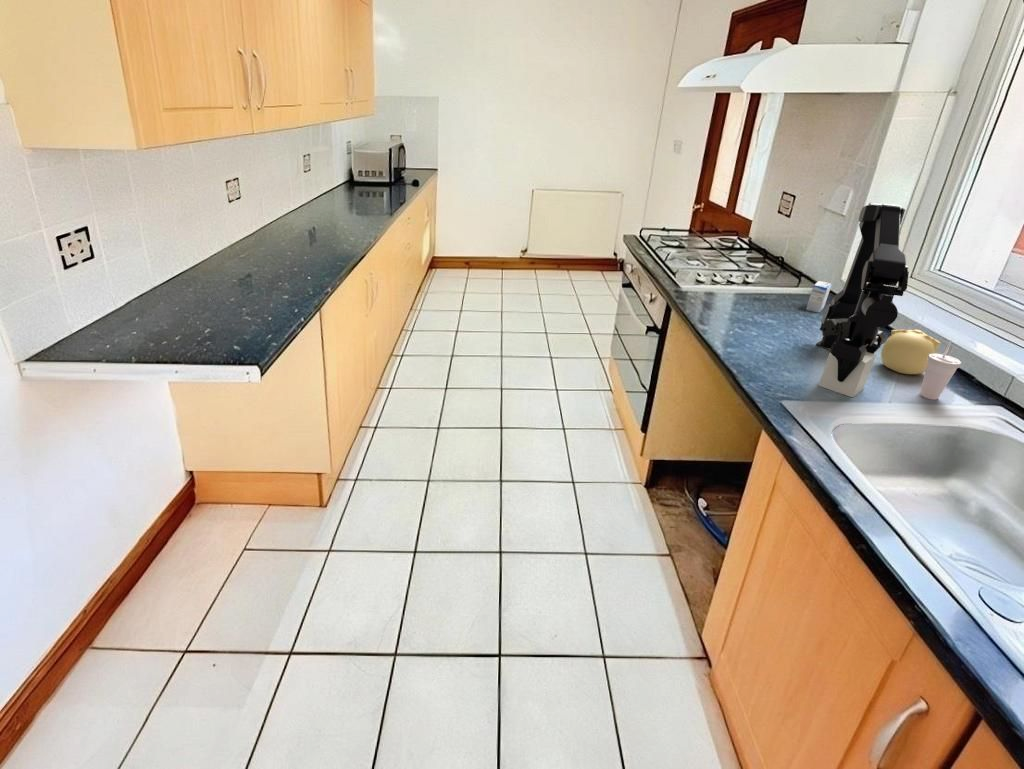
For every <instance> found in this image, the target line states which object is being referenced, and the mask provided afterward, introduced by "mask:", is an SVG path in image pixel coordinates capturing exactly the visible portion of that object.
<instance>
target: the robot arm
mask: <svg viewBox="0 0 1024 769" xmlns="http://www.w3.org/2000/svg"><path fill="white" fill-rule="evenodd" d="M905 212H906V209H905V208H904V206H901V205H899V204H890V203H889V204H888V203H878V202H877V203H874V202H869V203H868V205H864V206H863V207H862V208H861V210H860V213H859V217H858V222H859V223H858V227H859V231H860V234H861V239H860V240H859V241H860V242H859V245H858V247H857V250H856V253H855V255H854V258H853V261H852V264H851V267H850V269H849V272H848V275H847V278H846V281H845V284H844V286H843V289H842V290H840V291H839V292H838V293H836V294H835V295H834V296H833V298H832V299H831V302H830V304H829V303H828V305H827V307H826V308H825V310H824V312H822V317H821V324H820V327H819V331H820V332H822V338H821V340H820V341H818V342H816V343H815V345H816V346H817V347H821V348H824V349H827V350H829V353H832V355H833V356H835V358H836V359H837V361H838V381H840V382H843V381H844V380H845V379H846V378H847V377H848V376H849V375H850V373H851V372H852V371H853V370H854V369H855V368H856V367H857V366H858V365H859V363H860V362H861V361H862V360H863V357H864V355H865V353H866V352H869V353H872V354H875V353H876V352H877V351H878V350H879V349H880V348H881V347H882V346H883V345H884V344H885V340H886V334H885V332H884V331H882V330H880V329H881V328H885V327H888V326H890V325H892V324H893V323H894V322H895V321H896V320H897V318H898V308H897V306H896V304H895V303H894V302H893V299H894V296H899V297H903V295H904V292H906V290H907V289H908V283H909V275H910V274H909V272H910V271H909V266H908V265H907V262H906V254H904V253H903V252H902V251H901V250H900V232H901V231H900V228H901V226H902V222H903V220H904V219H903V218H904V215H905Z"/></svg>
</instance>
